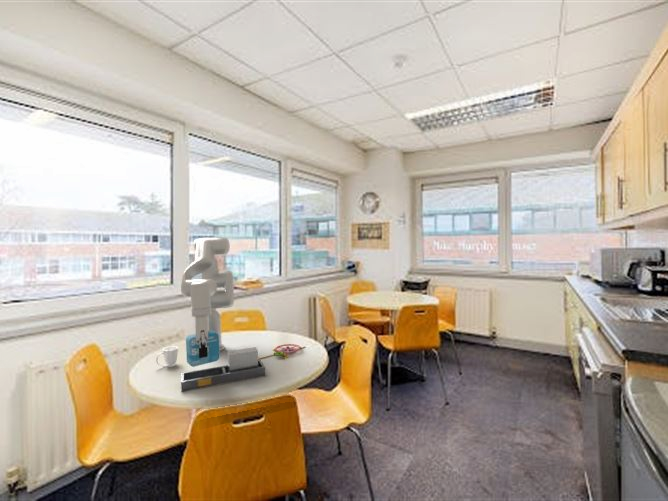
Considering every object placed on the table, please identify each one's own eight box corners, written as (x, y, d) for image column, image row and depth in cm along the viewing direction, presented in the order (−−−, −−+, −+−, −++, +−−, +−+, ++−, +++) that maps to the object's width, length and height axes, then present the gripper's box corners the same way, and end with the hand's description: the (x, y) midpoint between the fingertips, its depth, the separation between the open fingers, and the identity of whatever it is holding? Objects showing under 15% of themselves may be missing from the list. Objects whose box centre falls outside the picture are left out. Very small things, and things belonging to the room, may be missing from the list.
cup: (181, 364, 161) (181, 348, 161) (159, 371, 154) (158, 353, 153) (175, 361, 166) (174, 344, 166) (153, 367, 159) (153, 350, 158)
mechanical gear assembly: (313, 351, 177) (297, 345, 189) (312, 343, 177) (297, 338, 189) (260, 366, 158) (246, 358, 170) (259, 357, 158) (246, 350, 170)
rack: (181, 381, 142) (180, 356, 142) (260, 367, 156) (260, 344, 155) (181, 392, 133) (180, 365, 132) (265, 376, 146) (265, 351, 146)
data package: (190, 367, 135) (188, 338, 135) (186, 364, 139) (185, 335, 138) (219, 360, 143) (218, 332, 142) (216, 357, 146) (215, 330, 146)
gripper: (191, 308, 146) (192, 350, 147) (192, 316, 130) (193, 363, 131) (209, 306, 149) (210, 347, 150) (212, 314, 133) (214, 360, 134)
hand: (202, 354), depth 141 cm, fingers closed on data package, 5 cm apart
